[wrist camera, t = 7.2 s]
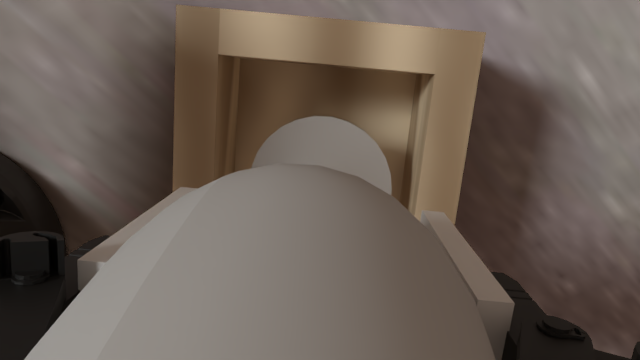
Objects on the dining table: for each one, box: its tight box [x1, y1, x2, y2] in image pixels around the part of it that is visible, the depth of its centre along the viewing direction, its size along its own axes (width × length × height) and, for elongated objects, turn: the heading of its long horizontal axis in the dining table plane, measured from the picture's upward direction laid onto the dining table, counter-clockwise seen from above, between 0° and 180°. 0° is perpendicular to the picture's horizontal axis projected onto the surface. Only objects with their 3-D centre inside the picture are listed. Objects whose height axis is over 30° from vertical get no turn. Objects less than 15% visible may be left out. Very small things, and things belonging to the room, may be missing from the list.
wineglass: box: [24, 116, 496, 360], centre depth 13 cm, size 8×8×21 cm
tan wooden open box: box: [173, 5, 486, 226], centre depth 26 cm, size 14×14×7 cm
